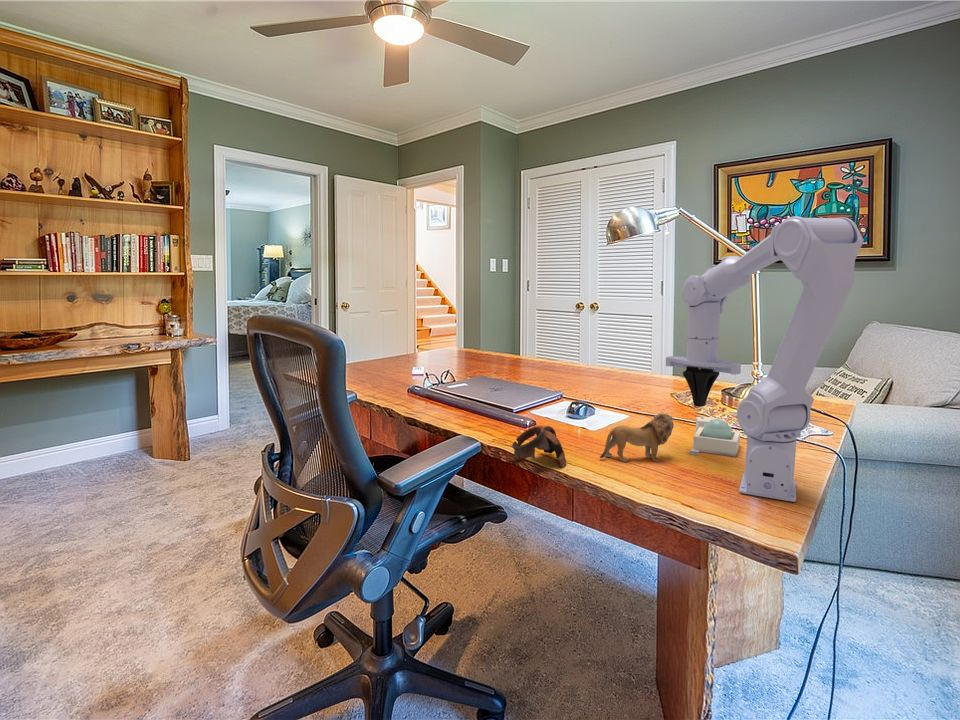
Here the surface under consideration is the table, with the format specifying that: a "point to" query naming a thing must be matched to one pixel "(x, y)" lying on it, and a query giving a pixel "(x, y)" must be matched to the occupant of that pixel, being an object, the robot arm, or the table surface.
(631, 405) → the table surface
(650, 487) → the table surface
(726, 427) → the dome plunger
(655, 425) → the lion figurine
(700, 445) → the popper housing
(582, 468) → the table surface
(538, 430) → the brown twisted loop
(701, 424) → the die
